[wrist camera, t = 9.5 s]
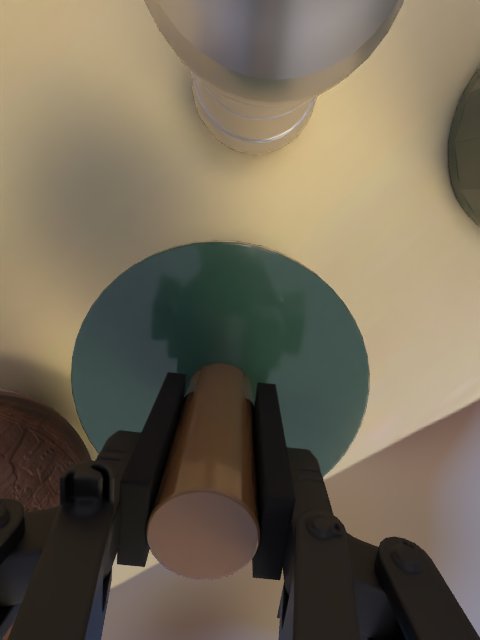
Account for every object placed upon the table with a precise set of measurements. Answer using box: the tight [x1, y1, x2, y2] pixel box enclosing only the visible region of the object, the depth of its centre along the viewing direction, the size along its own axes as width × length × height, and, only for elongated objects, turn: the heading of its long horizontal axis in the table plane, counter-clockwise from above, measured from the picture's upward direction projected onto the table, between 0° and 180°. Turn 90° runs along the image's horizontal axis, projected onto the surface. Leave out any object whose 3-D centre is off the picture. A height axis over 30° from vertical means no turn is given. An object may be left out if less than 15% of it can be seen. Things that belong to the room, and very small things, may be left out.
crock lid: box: [71, 240, 370, 580], centre depth 15 cm, size 14×14×9 cm
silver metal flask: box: [144, 0, 404, 154], centre depth 13 cm, size 6×7×20 cm
